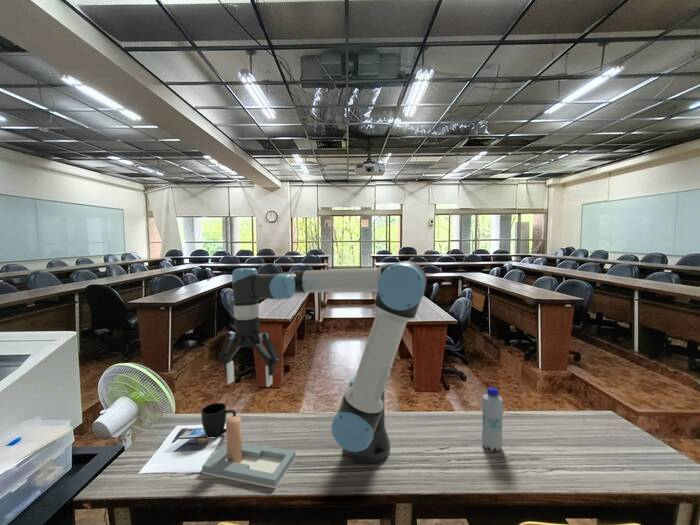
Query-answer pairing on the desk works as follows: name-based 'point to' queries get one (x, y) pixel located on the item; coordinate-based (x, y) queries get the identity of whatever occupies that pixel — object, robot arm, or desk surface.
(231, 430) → the peg
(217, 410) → the mug
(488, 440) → the bottle
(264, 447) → the keyhole board
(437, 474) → the desk surface
